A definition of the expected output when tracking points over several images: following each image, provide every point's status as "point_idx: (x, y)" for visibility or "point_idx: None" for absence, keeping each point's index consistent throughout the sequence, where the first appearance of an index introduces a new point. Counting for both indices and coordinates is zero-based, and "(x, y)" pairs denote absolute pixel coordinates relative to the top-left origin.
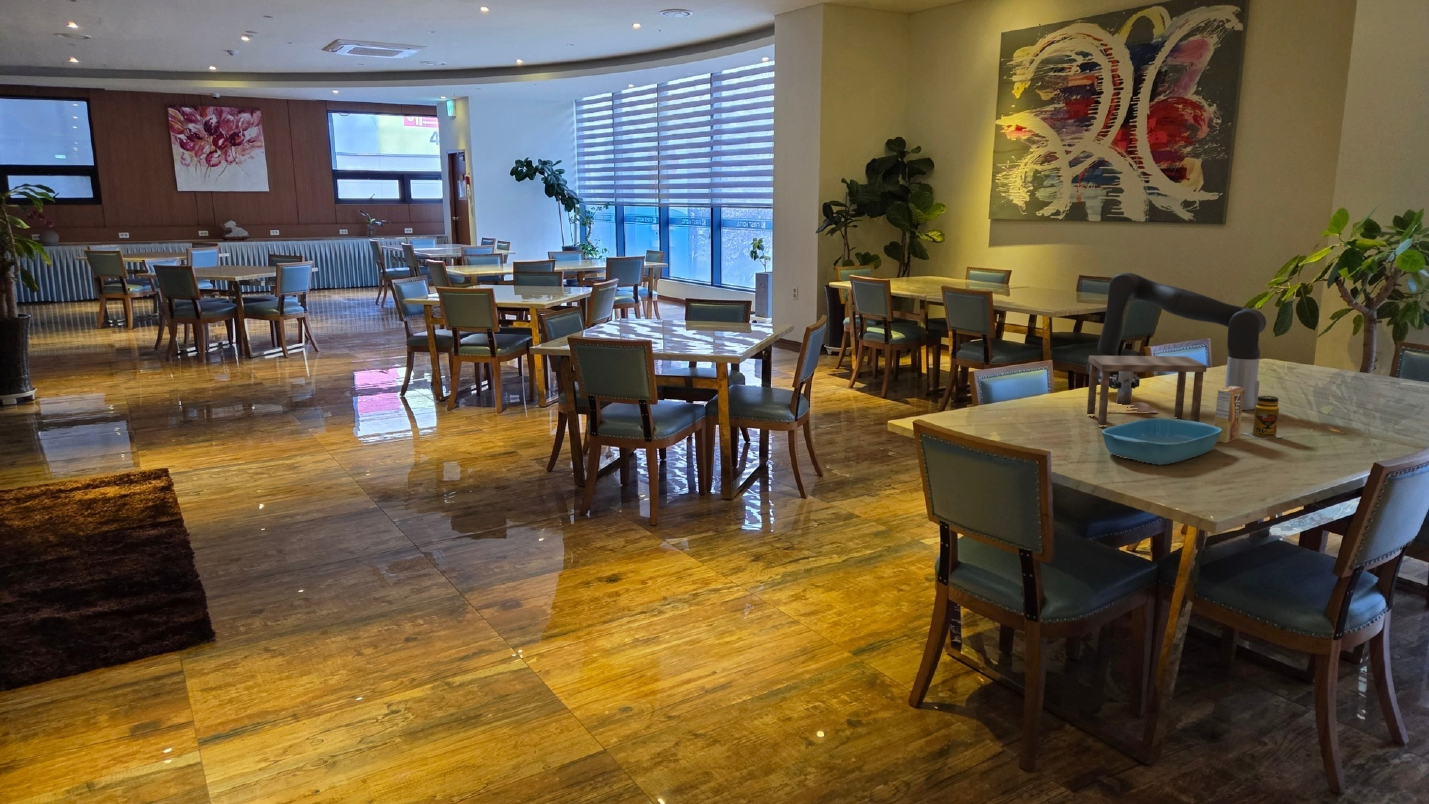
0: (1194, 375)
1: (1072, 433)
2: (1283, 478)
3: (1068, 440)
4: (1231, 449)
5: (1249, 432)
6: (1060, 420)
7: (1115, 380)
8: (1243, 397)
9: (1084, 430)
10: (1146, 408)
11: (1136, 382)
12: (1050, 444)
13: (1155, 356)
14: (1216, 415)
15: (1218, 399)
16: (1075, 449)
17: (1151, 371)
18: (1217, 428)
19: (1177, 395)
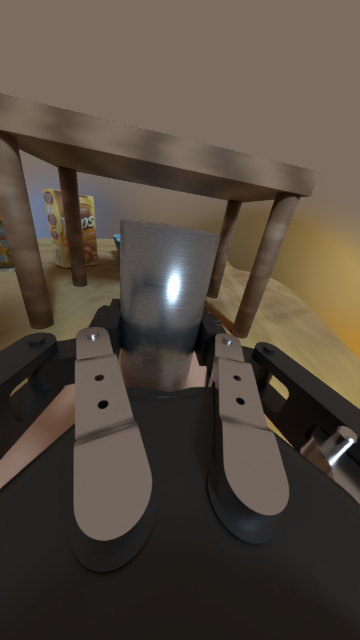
0: (76, 181)
1: (239, 286)
2: (109, 242)
3: (236, 277)
4: (99, 256)
5: (9, 269)
6: (276, 317)
7: (216, 329)
8: (46, 204)
9: (229, 290)
10: (66, 391)
11: (65, 347)
12: (246, 274)
13: (101, 122)
14: (95, 232)
15: (93, 210)
16: (225, 268)
17: (161, 187)
18: (115, 236)
19: (41, 263)
